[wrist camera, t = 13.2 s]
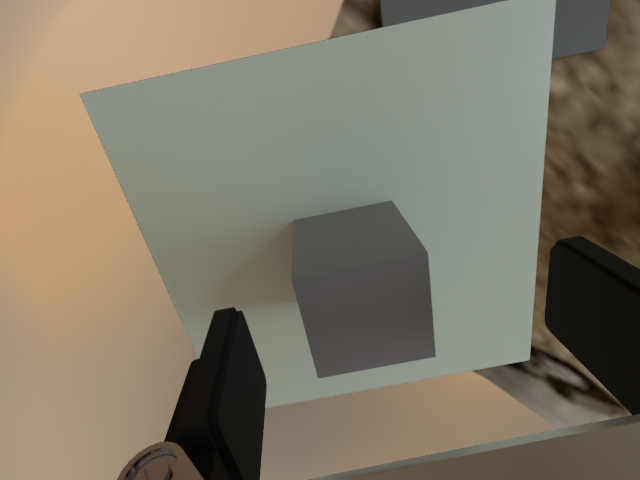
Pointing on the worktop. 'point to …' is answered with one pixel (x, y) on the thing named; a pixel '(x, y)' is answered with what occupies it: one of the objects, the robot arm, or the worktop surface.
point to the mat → (571, 3)
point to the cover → (350, 196)
